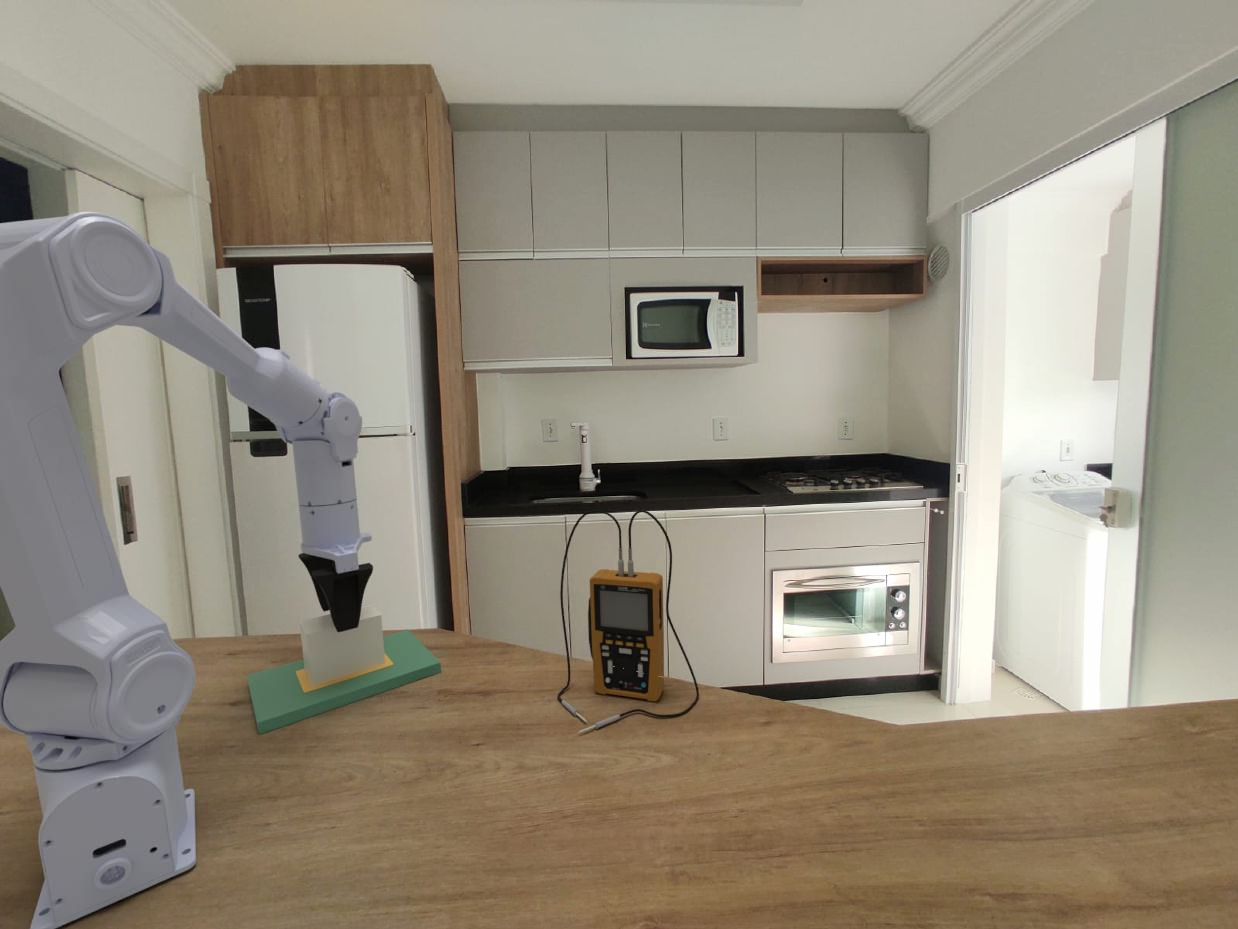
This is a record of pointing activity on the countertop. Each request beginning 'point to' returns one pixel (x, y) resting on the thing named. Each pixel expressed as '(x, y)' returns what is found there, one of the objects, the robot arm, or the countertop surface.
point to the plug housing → (341, 646)
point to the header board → (335, 683)
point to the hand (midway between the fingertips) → (339, 618)
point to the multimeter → (626, 631)
